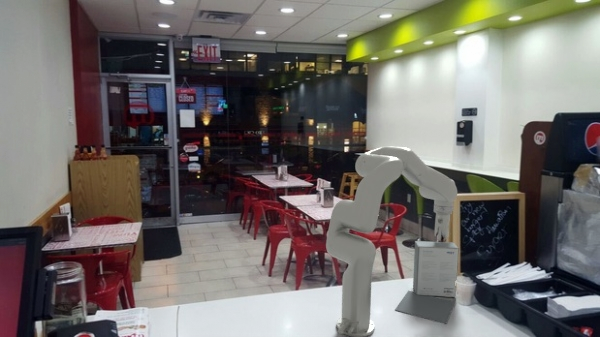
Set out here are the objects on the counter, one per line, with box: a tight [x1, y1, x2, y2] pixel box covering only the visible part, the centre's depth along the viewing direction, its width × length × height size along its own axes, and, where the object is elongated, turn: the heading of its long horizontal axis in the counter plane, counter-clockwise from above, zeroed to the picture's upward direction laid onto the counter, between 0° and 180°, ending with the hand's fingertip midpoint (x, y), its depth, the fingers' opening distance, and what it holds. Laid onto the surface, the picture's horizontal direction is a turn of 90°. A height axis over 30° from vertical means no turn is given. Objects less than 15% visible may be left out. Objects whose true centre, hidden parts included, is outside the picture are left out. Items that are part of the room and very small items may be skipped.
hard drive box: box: [412, 240, 460, 298], centre depth 160 cm, size 16×8×20 cm, turn 84°
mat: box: [394, 290, 456, 325], centre depth 150 cm, size 18×18×1 cm
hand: (440, 251), depth 168 cm, fingers closed
